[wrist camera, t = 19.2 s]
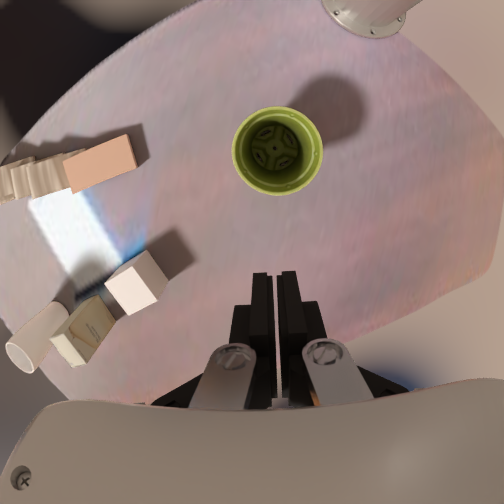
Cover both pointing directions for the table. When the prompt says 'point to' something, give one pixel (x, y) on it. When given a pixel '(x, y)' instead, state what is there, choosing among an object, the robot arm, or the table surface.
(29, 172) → the domino
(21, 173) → the domino
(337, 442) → the robot arm
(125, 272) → the white cube
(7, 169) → the domino
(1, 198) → the domino
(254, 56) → the table surface
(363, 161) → the table surface
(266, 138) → the plant pot
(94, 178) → the domino
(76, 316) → the skincare box
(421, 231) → the table surface
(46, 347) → the drinking glass
